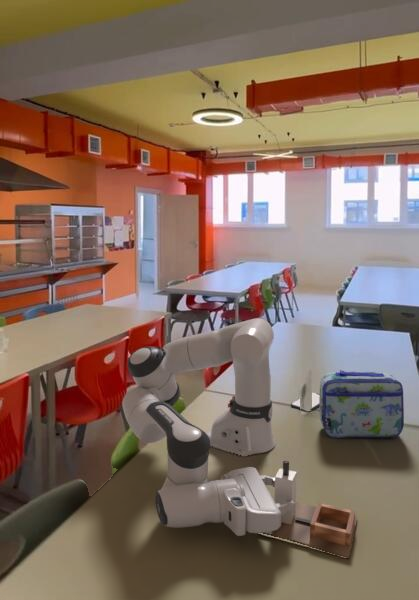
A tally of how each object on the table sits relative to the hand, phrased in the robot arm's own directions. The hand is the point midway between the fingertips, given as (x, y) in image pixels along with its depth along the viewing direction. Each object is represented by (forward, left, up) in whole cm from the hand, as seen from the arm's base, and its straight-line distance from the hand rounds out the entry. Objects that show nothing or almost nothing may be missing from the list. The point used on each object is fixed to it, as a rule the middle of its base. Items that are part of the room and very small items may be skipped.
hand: (286, 492), depth 109 cm
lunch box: (+10, +54, -8) cm, 55 cm away
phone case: (-10, +73, -8) cm, 75 cm away
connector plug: (0, 0, -6) cm, 7 cm away
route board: (+5, 0, -7) cm, 9 cm away
